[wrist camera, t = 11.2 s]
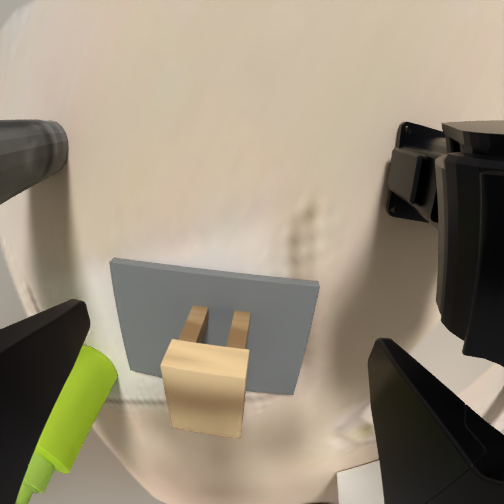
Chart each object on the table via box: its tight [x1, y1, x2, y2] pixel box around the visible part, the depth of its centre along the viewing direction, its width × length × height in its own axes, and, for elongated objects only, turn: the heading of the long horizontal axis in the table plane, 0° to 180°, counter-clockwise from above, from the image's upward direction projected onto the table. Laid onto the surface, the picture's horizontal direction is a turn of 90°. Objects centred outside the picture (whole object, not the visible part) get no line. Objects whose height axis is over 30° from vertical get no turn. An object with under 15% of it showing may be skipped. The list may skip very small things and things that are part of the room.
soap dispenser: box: [15, 345, 117, 504], centre depth 20 cm, size 6×7×20 cm
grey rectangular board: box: [109, 258, 320, 395], centre depth 25 cm, size 16×12×1 cm
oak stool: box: [160, 305, 251, 438], centre depth 21 cm, size 7×5×7 cm
